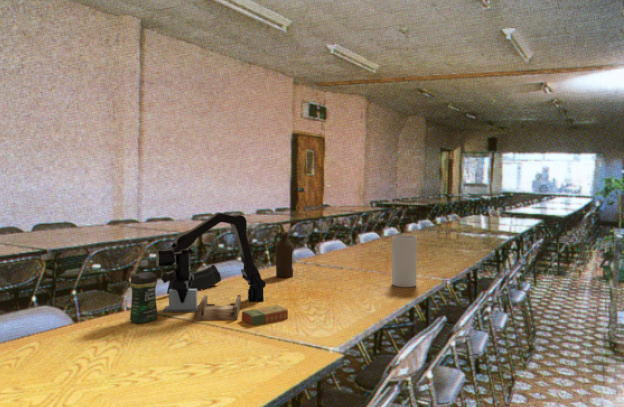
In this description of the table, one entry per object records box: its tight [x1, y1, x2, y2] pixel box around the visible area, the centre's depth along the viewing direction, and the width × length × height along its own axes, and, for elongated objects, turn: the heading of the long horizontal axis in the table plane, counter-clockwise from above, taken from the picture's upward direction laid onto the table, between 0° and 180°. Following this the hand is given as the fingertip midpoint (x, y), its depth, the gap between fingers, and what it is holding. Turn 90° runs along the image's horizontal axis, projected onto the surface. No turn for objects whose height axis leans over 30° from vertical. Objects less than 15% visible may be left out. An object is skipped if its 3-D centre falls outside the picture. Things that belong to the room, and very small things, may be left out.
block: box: [168, 289, 198, 310], centre depth 197 cm, size 11×3×8 cm, turn 95°
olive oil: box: [274, 231, 295, 279], centre depth 263 cm, size 11×11×25 cm
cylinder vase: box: [391, 234, 418, 288], centre depth 243 cm, size 12×12×25 cm
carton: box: [241, 304, 289, 327], centre depth 183 cm, size 8×16×4 cm, turn 126°
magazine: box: [166, 264, 222, 295], centre depth 229 cm, size 17×3×30 cm
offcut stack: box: [203, 305, 234, 316], centre depth 188 cm, size 12×6×4 cm, turn 95°
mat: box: [160, 304, 199, 313], centre depth 197 cm, size 16×9×1 cm, turn 95°
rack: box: [196, 294, 242, 321], centre depth 192 cm, size 15×19×5 cm
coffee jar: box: [129, 271, 158, 324], centre depth 181 cm, size 10×8×19 cm
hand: (183, 301), depth 197 cm, fingers open, 4 cm apart
